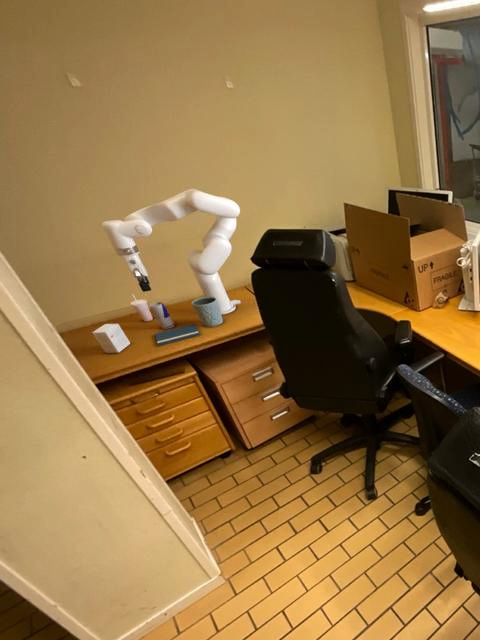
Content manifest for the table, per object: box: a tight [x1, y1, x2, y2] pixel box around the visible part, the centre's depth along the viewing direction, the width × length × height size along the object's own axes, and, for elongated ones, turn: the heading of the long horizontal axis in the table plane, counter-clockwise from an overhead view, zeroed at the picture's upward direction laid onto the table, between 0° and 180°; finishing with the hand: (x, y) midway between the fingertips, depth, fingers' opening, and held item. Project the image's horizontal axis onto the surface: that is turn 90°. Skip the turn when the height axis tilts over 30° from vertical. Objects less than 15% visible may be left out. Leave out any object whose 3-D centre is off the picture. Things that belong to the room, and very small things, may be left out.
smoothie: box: [130, 293, 154, 322], centre depth 193 cm, size 6×6×14 cm
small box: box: [91, 323, 131, 354], centre depth 172 cm, size 8×6×10 cm
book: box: [154, 323, 201, 347], centre depth 185 cm, size 16×12×1 cm
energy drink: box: [149, 301, 176, 330], centre depth 188 cm, size 5×5×12 cm
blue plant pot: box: [191, 296, 224, 328], centre depth 192 cm, size 10×10×12 cm
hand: (146, 287), depth 180 cm, fingers open, 9 cm apart
